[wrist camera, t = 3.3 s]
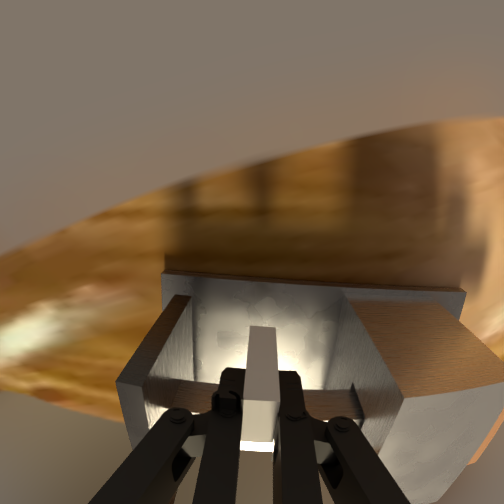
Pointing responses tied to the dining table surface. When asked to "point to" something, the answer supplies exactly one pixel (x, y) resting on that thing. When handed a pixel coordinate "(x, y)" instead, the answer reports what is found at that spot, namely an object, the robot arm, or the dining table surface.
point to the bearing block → (362, 361)
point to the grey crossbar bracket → (193, 392)
